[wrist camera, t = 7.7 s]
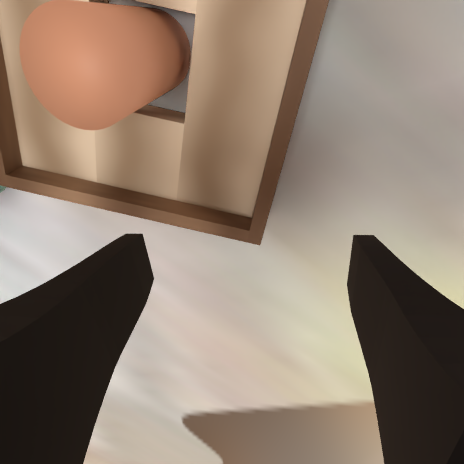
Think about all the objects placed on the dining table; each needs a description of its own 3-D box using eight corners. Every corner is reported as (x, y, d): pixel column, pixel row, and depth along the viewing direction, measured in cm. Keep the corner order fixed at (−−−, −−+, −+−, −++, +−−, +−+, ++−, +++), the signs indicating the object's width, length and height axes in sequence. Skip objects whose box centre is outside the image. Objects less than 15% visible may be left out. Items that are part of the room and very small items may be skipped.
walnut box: (353, -114, 14) (371, -150, 11) (263, 215, 23) (260, 245, 20) (-23, -194, 14) (-105, -250, 11) (32, 163, 23) (-5, 184, 20)
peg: (197, 20, 17) (139, 20, 10) (184, 100, 19) (129, 143, 13) (120, -3, 17) (13, -18, 10) (116, 80, 19) (24, 112, 12)
